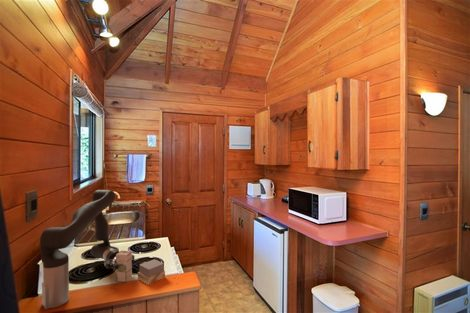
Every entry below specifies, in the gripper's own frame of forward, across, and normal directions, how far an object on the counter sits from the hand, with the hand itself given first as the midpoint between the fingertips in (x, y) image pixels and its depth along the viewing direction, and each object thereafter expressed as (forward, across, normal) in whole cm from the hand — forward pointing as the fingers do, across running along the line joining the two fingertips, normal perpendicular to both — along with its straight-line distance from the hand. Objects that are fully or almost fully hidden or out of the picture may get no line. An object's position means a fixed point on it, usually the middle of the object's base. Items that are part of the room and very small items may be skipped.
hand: (125, 264), depth 128 cm
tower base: (+8, +10, +9) cm, 16 cm away
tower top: (+8, +10, +5) cm, 14 cm away
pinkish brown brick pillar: (-2, 0, +9) cm, 9 cm away
